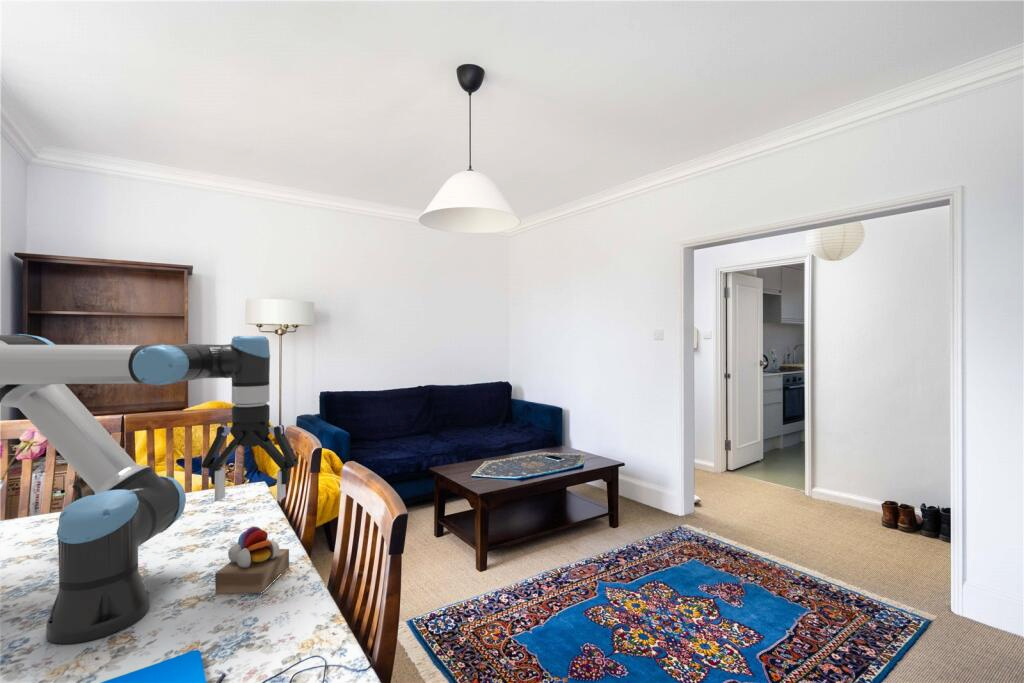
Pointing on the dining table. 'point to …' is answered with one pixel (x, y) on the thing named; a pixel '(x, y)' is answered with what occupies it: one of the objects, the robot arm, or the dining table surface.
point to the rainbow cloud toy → (253, 548)
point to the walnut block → (250, 575)
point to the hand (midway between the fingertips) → (250, 498)
